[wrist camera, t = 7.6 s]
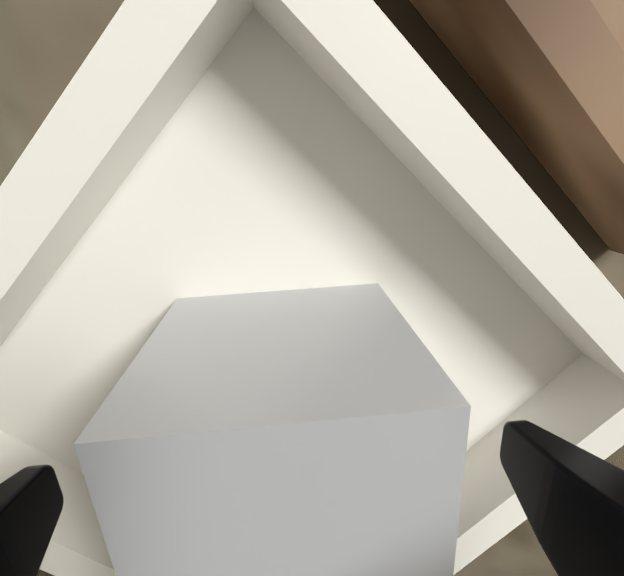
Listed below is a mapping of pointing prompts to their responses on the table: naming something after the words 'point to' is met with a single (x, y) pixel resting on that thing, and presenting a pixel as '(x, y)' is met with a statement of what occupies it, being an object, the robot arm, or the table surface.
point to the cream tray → (286, 235)
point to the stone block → (280, 442)
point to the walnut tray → (552, 88)
